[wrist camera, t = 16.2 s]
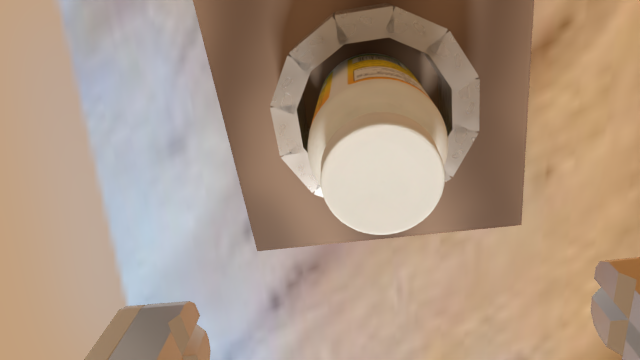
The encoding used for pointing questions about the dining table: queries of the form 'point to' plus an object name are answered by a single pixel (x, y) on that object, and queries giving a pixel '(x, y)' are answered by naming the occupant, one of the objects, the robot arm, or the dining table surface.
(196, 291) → the dining table surface
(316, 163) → the supplement bottle
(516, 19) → the holder board
